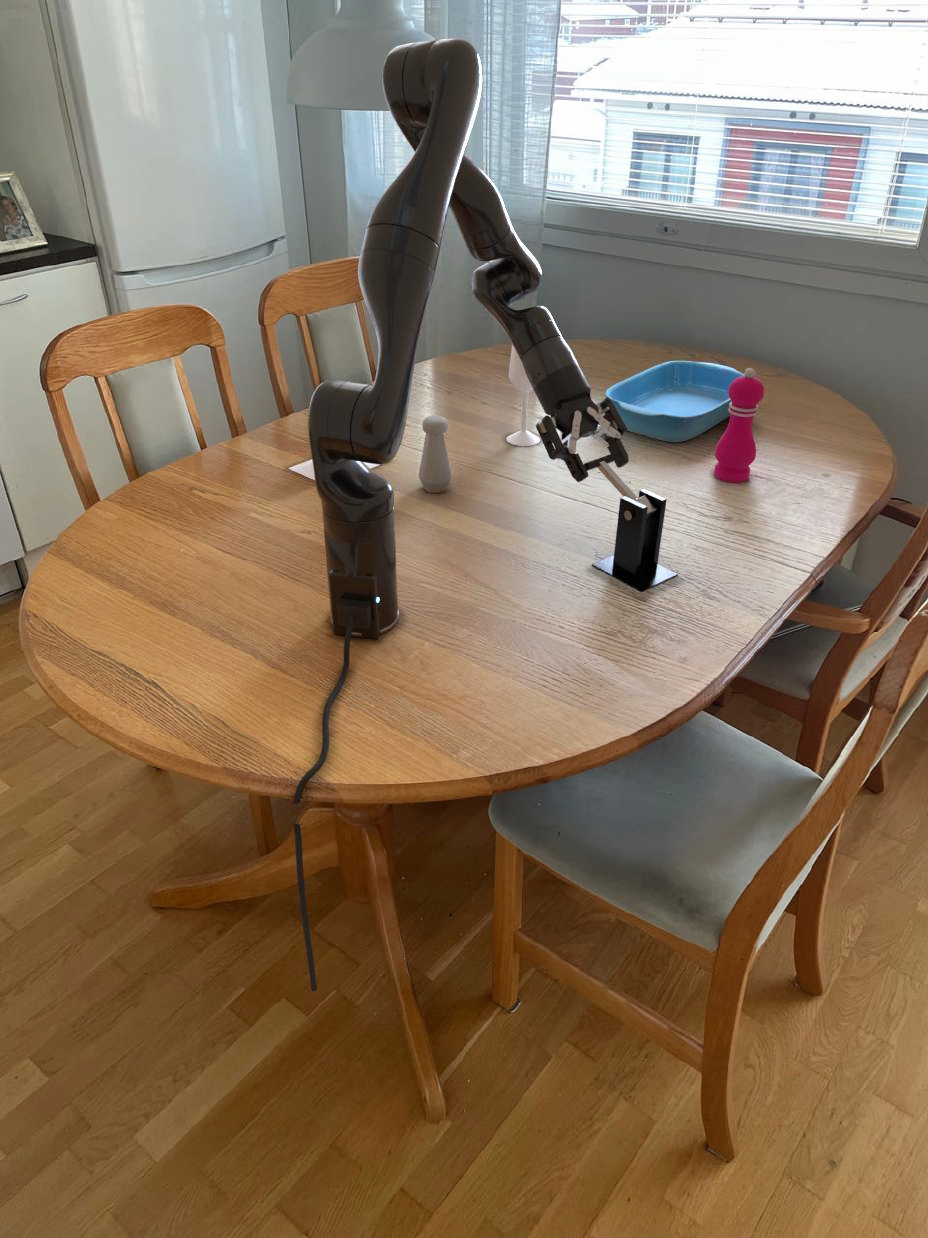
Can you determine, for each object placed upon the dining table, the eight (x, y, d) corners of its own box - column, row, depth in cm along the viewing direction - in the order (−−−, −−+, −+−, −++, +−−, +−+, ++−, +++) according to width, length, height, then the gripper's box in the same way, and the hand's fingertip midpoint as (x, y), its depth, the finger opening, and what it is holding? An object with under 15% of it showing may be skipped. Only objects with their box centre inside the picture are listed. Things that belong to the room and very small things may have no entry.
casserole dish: (681, 457, 176) (686, 421, 172) (584, 429, 188) (586, 395, 184) (764, 407, 200) (770, 374, 196) (672, 384, 212) (677, 353, 208)
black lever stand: (591, 571, 139) (598, 493, 132) (627, 555, 143) (636, 479, 136) (640, 598, 133) (651, 518, 126) (677, 581, 137) (689, 503, 130)
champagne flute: (545, 443, 182) (553, 319, 169) (514, 447, 179) (519, 323, 166) (531, 431, 187) (537, 310, 174) (500, 435, 185) (504, 313, 172)
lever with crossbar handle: (580, 469, 135) (586, 458, 134) (606, 460, 138) (612, 449, 136) (631, 527, 131) (638, 516, 129) (657, 516, 134) (664, 505, 132)
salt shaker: (447, 496, 161) (447, 425, 154) (415, 493, 162) (414, 422, 155) (454, 482, 166) (454, 413, 159) (423, 479, 166) (422, 410, 159)
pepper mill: (706, 478, 168) (724, 370, 157) (716, 464, 173) (734, 359, 163) (746, 486, 165) (767, 377, 154) (755, 472, 171) (776, 365, 160)
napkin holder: (327, 486, 164) (325, 456, 161) (287, 468, 170) (284, 439, 167) (388, 461, 173) (387, 432, 170) (347, 445, 180) (345, 417, 177)
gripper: (532, 372, 130) (584, 473, 129) (603, 353, 137) (652, 449, 136) (506, 398, 136) (555, 495, 135) (575, 379, 144) (622, 470, 143)
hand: (604, 472), depth 136 cm, fingers open, 8 cm apart
